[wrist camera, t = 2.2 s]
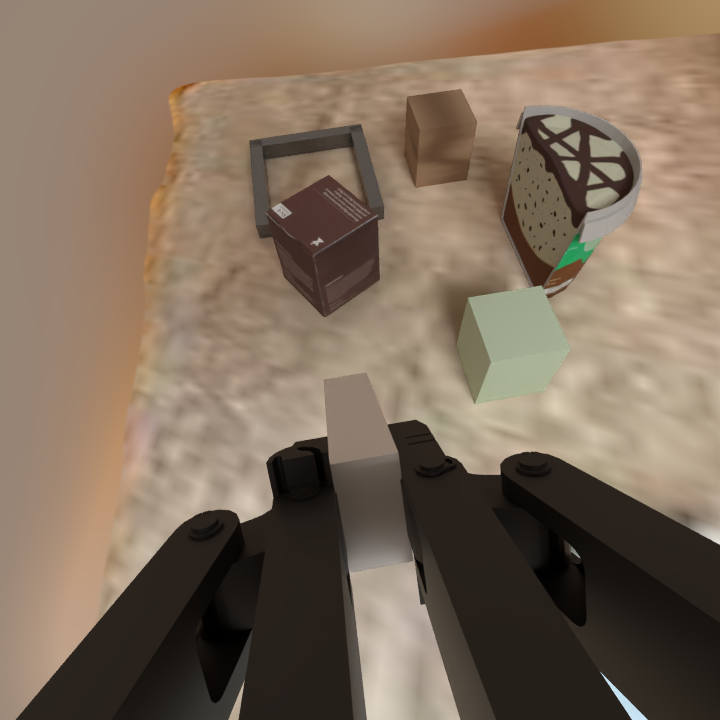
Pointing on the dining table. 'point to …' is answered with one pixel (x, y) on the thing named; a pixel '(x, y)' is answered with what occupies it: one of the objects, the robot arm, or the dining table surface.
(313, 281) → the box
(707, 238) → the dining table surface
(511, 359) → the sage green block
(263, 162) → the corral
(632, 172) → the food container
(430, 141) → the walnut block
